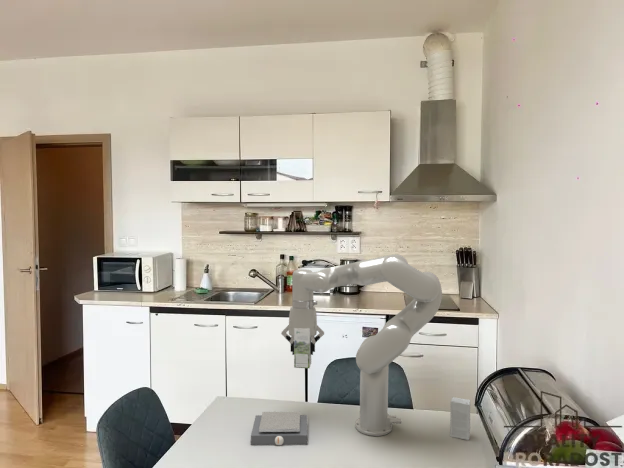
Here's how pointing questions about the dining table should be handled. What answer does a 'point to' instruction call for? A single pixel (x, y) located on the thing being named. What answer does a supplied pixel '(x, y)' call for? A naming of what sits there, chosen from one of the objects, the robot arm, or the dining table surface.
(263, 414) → the pan
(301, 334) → the syrup box
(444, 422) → the dining table surface
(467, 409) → the skincare box
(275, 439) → the base
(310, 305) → the robot arm
